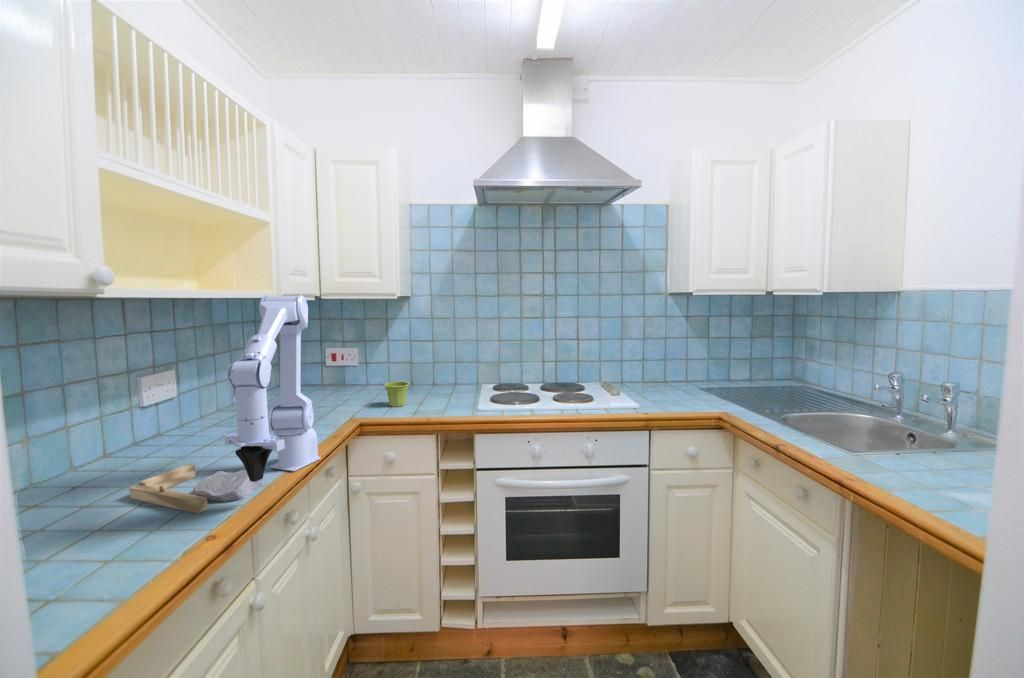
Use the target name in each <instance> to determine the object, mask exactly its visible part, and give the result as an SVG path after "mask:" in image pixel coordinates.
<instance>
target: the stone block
mask: <svg viewBox="0 0 1024 678" xmlns="http://www.w3.org/2000/svg"><path fill="white" fill-rule="evenodd" d="M262 481H263V479H260V480H258V481H256V482H252V481H250V479H249V477H248V474H247V471H246V469H241V470H238V471H236V472H227V471H226V472H225V471H223V470H218V471H216V472H214V473H213V474H211V475H208V476H207V477H204V478H202V479H201V480H200V481H198V482H197V484H195V486H194V487H193V490H192V491H193V493H192V495H196V496H201V497H206V498H207V501H214V502H224V503H226V502H227V503H228V502H234V501H239V500H244V499H246V498H247V497H249V496H251V495H252V494H253V493H254V491H255V490H257V489H258V488H259V487H260V486H261V485H262Z"/></svg>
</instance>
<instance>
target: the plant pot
mask: <svg viewBox="0 0 1024 678" xmlns="http://www.w3.org/2000/svg"><path fill="white" fill-rule="evenodd" d="M409 384H410V383H409V382H407V381H391V382H386V383H384V386H385V390H386V393H387V398H388V406H389V407H393V408H394V407H395V408H399V407H404V406H405V405H406V401H407V400H406V399H407V392H408V391H407V390H408V388H409V387H408V386H409Z"/></svg>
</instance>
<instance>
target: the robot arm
mask: <svg viewBox="0 0 1024 678" xmlns="http://www.w3.org/2000/svg"><path fill="white" fill-rule="evenodd" d="M258 307H259V309H258V310H259V313H260V316H261V321H260V324H259V328H258V331H257V333H256V334H253V335H252V336H250V337H249V339H248V341H247V343H246V345H245V347H244V348H243V351H242V353H241V356H240V358H239V360H236V361H234V362H233V363H231V364H230V365H229V368H228V371H227V377H226V378H227V382H228V383H227V384H228V386H229V387H230V391H231V396H232V398H234V402H235V415H236V416H235V417H236V428H237V430H236V431H237V433H235V432H232V433H229V434H225V435H224V444H225V445H227V446H228V445H233V446H234V447H237V448H238V449H237V450H235V455H236V456H237V457H238V459H239V460H240V461H241V463H242V464H243V466H244V470H246V471H247V474H248V477H249V479H250V481H252V482H256V481H258V480H260V479H262V480H263V479H264V474H265V469H266V465H267V462H268V459H269V458H270V455H271V453H272V452H277V462H276V463H274V464H272V465H270V466H269V467H270V468H271V469H276V470H282V471H288V472H296V471H298V470H300V469H302V468H304V467H307V466H309V465H311V464H312V463H315V462H317V461H319V460H321V459H322V458H321V457H320V456H319V449H318V436H317V432H316V431H315V429H314V428H313V427H312V426H313V424H314V419H315V418H314V417H315V414H314V408H313V402H312V400H311V399H310V398H309V397H307V396H306V395H304V394H303V393H302V392H301V389H302V388H301V386H302V385H301V383H302V382H301V379H302V378H301V375H302V374H301V373H302V371H301V369H302V367H301V366H302V363H301V362H302V361H301V360H302V356H301V353H302V352H301V351H302V350H301V349H302V348H301V347H302V345H301V344H302V343H301V341H302V339H301V338H302V331H303V330H306V329H307V328H308V323H309V306H308V302H307V299H306V298H305V297H304V295H300V294H299V295H272V296H271V295H263V296H262V297H261V299H260V300H259V305H258ZM278 335H280V336H279V337H280V338H279V345H280V347H279V348H280V349H279V357H280V358H279V395H278V396H277V397H275V398H274V399H273V400H272V401H270V402H269V407H268V393H267V387H268V386H269V384H270V381H271V376H272V375H271V372H272V364H271V362H272V360H273V359H274V355H275V353H276V350H277V347H278V345H277V342H276V341H275V340H276V338H277V336H278ZM270 431H271V432H273V435H272V434H270Z"/></svg>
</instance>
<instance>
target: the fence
mask: <svg viewBox="0 0 1024 678" xmlns="http://www.w3.org/2000/svg"><path fill="white" fill-rule="evenodd" d="M193 478H196V466H195V464H191V463H188V464H185V465H183V466H180V467H177V468H174V469H171V470H168V471H165V472H162V473H160V474H156V475H154V476H152V477H149V478H146V479H144V480H140V481H138V482H139V483H138V484H136V485H133V486H129V487H128V489H129V490H128V491H129V497H130V498H129V499H131V500H136V501H140V502H144V503H149V504H152V505H153V504H154V505H159V506H161V507H162V506H163V507H166V508H172V509H176V510H179V511H180V510H181V511H185V512H190V513H193V514H200V513H203V512H204V511H206V510H208V499H207V498H206V497H201V496H196V495H193V494H190V493H185V492H179V491H175V490H172V489H171V490H170V489H168V488H170V487H173V486H176V485H179V484H181V483H183V482H186V481H188V480H191V479H193Z"/></svg>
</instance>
